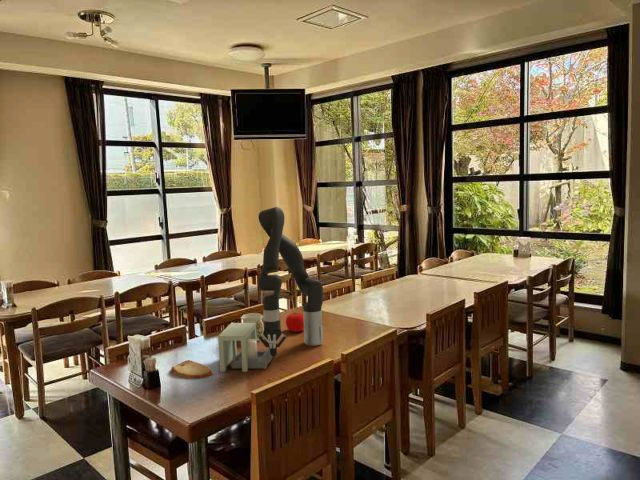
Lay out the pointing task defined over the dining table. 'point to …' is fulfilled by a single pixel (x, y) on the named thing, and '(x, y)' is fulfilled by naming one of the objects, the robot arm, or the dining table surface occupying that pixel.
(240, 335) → the miniature white stool
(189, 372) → the slice of bread
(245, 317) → the pitcher
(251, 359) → the cream rounded cylinder
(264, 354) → the tray
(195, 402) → the dining table surface
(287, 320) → the tomato
